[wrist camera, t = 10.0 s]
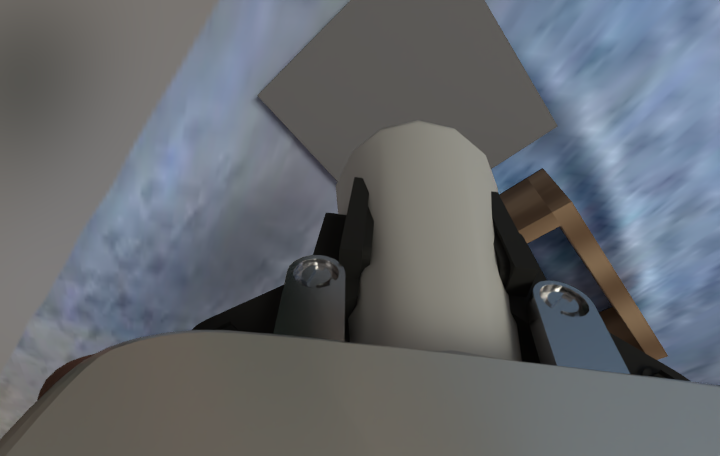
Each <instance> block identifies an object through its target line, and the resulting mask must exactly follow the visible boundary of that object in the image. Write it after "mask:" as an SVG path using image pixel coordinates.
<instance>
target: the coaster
mask: <svg viewBox="0 0 720 456" xmlns="http://www.w3.org/2000/svg"><path fill="white" fill-rule="evenodd" d="M257 96H258V97H259V98H260V99H261V100H262V101H263V102H264V103H265V104H266V105H267V106H268V108H269V109H270V110H271V111H272V112H273V113H274V114H275V115H276V116H277V117H278V118H279V119H280V120H281V121H282V122H283V124H284V125H285V126H286V127H287V128H288V129H289V130H290V131H291V132H292V133H293V134H294V135H295V136H296V137H297V139H298V140H299V141H300V142H301V143H302V144H303V145H304V146H305V147H306V148H307V149H308V150H309V151H310V152H311V154H312V155H313V156H314V157H315V158H316V159H317V160H318V161H319V162H320V163H321V164H322V165H323V166H324V167H325V169H326V170H327V171H328V172H329V173H330V174H331V175H332V176H333V177H334V178H335V179H336V180H337V181H338V180H339V178H340V176H341V174H342V172H343V170H344V168H345V166H346V164H347V161H348V159H349V157H350V155H351V154H352V152H353V151H354V150H355V149H356V148H358V147H359V146H360V145H361V144H363V143H364V142H365V141H366V140H368V139H369V138H370V137H371V136H373V135H374V134H375V133H376V132H378V131H379V130H380V129H382V128H386V127H391V126H395V125H400V124H404V123H408V122H413V121H417V120H419V121H424V122H428V123H433V124H437V125H441V126H446V127H450V128H454V129H456V130H457V131H458V132H459V133H460V134H462V135H463V136H464V137H465V138H466V139H467V140H469V141H470V142H471V143H472V144H473V145H475V146H476V147H477V148H478V149H479V150H480V151H482V152H483V153H484V154H485V155H486V157H487V160H488V163H489V166H490V168H491V169H492V168H493V167H495V166H497V165H498V164H500V163H501V162H503V161H504V160H506V159H507V158H509V157H511V156H512V155H514V154H515V153H517V152H518V151H520V150H521V149H523V148H525V147H526V146H528V145H529V144H531V143H532V142H534V141H535V140H537V139H538V138H540V137H542V136H543V135H545V134H546V133H548V132H549V131H551V130H552V129H554V128H556V127H557V124H556V122H555V121H554V119H553V117H552V116H551V114H550V112H549V110H548V109H547V107H546V105H545V104H544V102H543V100H542V98H541V97H540V95H539V93H538V92H537V90H536V88H535V86H534V85H533V83H532V81H531V79H530V78H529V76H528V74H527V73H526V71H525V69H524V67H523V66H522V64H521V62H520V61H519V59H518V57H517V55H516V54H515V52H514V50H513V49H512V47H511V45H510V43H509V42H508V40H507V38H506V37H505V35H504V33H503V31H502V30H501V28H500V26H499V25H498V23H497V21H496V19H495V18H494V16H493V14H492V13H491V11H490V9H489V7H488V6H487V4H486V2H485V0H351V1H350V2H349V3H348V4H347V5H346V6H345V7H344V8H343V9H342V10H341V11H340V12H339V13H338V14H337V15H336V16H335V17H334V18H333V19H332V20H331V21H330V22H329V23H328V24H327V25H326V26H325V27H324V28H323V29H322V30H321V31H320V32H319V33H318V34H317V35H316V36H315V37H314V38H313V39H312V40H311V41H310V42H309V43H308V44H307V45H306V46H305V47H304V49H303V50H302V51H301V52H300V53H299V54H298V55H297V56H296V57H295V58H294V59H293V60H292V61H291V62H290V63H289V64H288V65H287V66H286V67H285V68H284V69H283V70H282V71H281V72H280V73H279V74H278V75H277V76H276V77H275V78H274V79H273V80H272V81H271V82H270V83H269V84H268V85H267V86H266V87H265V88H264V89H263V90H262V91H261V92H260V93H259V94H258V95H257Z"/></svg>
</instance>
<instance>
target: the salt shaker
mask: <svg viewBox="0 0 720 456" xmlns="http://www.w3.org/2000/svg"><path fill="white" fill-rule="evenodd" d="M354 177H359V178H363V179H364V182H365V184H366V187H367V189H368V191H369V200H368V207H369V210H370V212H371V215H372V217H373V220H374V228H373V240H372V252H371V261H370V265H369V266H368V267H366V268H365V269H364V270H363V272H362V273H361V275H360V280H359V289H358V298H357V305H356V307H355V308H354V310H353V312H352V313H351V315H350V316H349V318H348V323H349V334H350V342H353V343H363V344H372V345H381V346H390V347H399V348H408V349H417V350H426V351H435V352H443V353H452V354H461V355H470V356H479V357H487V358H496V359H505V360H514V361H522V358H521V350H520V343H519V336H518V329H517V324H516V322H515V320H514V318H513V316H512V314H511V312H510V304H509V295H508V294H507V292H506V291H505V287H504V286H503V283H502V281H501V279H500V276H499V270H498V264H497V258H496V253H495V248H494V244H493V243H494V224H493V219H492V205H491V191H493V192H497V193H498V189H497V185H496V182H495V180H494V177H493V174H492V171H491V168H490V166H489V163H488V160H487V157H486V155H485V154H484V153H483V152H482V151H480V150H479V149H478V148H477V147H476V146H475V145H473V144H472V143H471V142H470V141H469V140H467V139H466V138H465V137H464V136H463V135H462V134H460V133H459V132H458V131H457V130H456V129H454V128H450V127H446V126H441V125H437V124H433V123H428V122H424V121H419V120H417V121H413V122H408V123H404V124H400V125H395V126H391V127H386V128H382V129H380V130H379V131H378V132H376V133H375V134H374V135H373V136H371V137H370V138H369V139H368V140H366V141H365V142H364V143H363V144H361V145H360V146H359V147H358V148H356V149H355V150H354V151H353V152H352V154H351V155H350V157H349V159H348V161H347V164H346V166H345V168H344V170H343V172H342V174H341V176H340V178H339V180H338V182H337V184H336V193H337V205H338V214H343V215H347V210H348V206H349V201H350V196H351V191H352V186H353V181H354Z"/></svg>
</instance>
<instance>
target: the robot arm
mask: <svg viewBox="0 0 720 456" xmlns="http://www.w3.org/2000/svg"><path fill="white" fill-rule="evenodd" d="M368 200H369V191H368V189H367V187H366V184H365V182H364V179H363V178H359V177H354V181H353V186H352V191H351V196H350V201H349V206H348V210H347V215H343V214H334V213H326V214H325V217H324V221H323V224H322V227H321V231H320V234H319V237H318V240H317V244H316V247H315V250H314V254H313V255H310V256H306V257H302V258H300V259H298V260H296V261H294V262H293V263H292V264H291V265H290V266H289V268H288V270H287V274H286V279H285V283H284V285H282V286H280V287H278V288H276V289H274V290H271V291H269V292H267V293H265V294H262V295H260V296H258V297H256V298H253V299H251V300H249V301H247V302H245V303H242V304H240V305H238V306H236V307H233V308H231V309H229V310H227V311H225V312H222V313H220V314H218V315H216V316H213V317H211V318H209V319H207V320H205V321H203V322H201V323H200V324H198V325H197V326H196V327H195V328H193V329H192V330H189V331H177V332H167V333H161V334H156V335H151V336H145V337H140V338H136V339H133V340H129V341H125V342H122V343H119V344H116V345H113V346H111V347H108V348H106V349H104V350H102V351H100V352H98V353H96V354H92V355H88V356H84V357H81V358H78V359H75V360H73V361H70V362H68V363H66V364H65V365H63V366H62V367H60V368H58V369H57V370H56V371H55V372H54V373H52V374H51V375H50V376H49V377H48V378H47V379H46V381H45V383H44V384H43V386H42V388H41V390H40V393H39V396H38V399H37V402H36V403H35V404H34V405H33V406H32V407H30V408H29V410H28V411H27V412H26V413H25V414H24V415H23V416H22V417H21V418H20V419H19V420H18V421H17V422H16V423H15V424H14V425H13V426H12V427H11V428H10V429H9V431H8V432H7V433H6V434H5V435H4V436H3V437H2V438H1V439H0V456H720V386H719V385H713V384H706V383H699V382H692V381H690V380H688V379H687V378H685V377H684V376H682V375H681V374H679V373H678V372H676V371H674V370H673V369H671V368H669V367H668V366H666V365H664V364H663V363H661V362H659V361H657V360H656V359H654V358H652V357H651V356H649V355H647V354H646V353H644V352H642V351H640V350H639V349H637V348H635V347H634V346H632V345H630V344H629V343H627V342H625V341H624V340H622V339H620V338H618V337H617V336H615V335H613V334H612V333H610V332H608V330H607V328H606V326H605V324H604V322H603V320H602V318H601V316H600V315H599V313H598V311H597V309H596V307H595V305H594V304H593V302H592V301H591V299H590V298H589V297H587V296H586V295H585V294H584V293H583V292H581V291H580V290H578V289H576V288H575V287H572V286H570V285H568V284H565V283H562V282H558V281H549V280H546V278H545V276H544V274H543V272H542V271H541V269H540V267H539V265H538V263H537V261H536V259H535V258H534V256H533V254H532V252H531V250H530V248H529V246H528V245H527V243H526V241H525V239H524V237H523V236H522V235H521V234H520V233H519V232H518V230H517V228H516V226H515V224H514V222H513V220H512V218H511V216H510V215H509V213H508V211H507V209H506V207H505V205H504V203H503V201H502V200H501V198H500V196H499V194H498V193H497V192H493V191H491V205H492V219H493V224H494V243H493V244H494V248H495V253H496V258H497V264H498V270H499V276H500V279H501V281H502V283H503V286H504V287H505V291H506V292H507V294H508V295H509V304H510V312H511V314H512V316H513V318H514V320H515V322H516V324H517V329H518V336H519V343H520V350H521V358H522V361H514V360H505V359H496V358H487V357H479V356H470V355H461V354H452V353H443V352H435V351H426V350H417V349H408V348H399V347H390V346H381V345H372V344H363V343H353V342H350V334H349V323H348V318H349V316H350V315H351V313H352V312H353V310H354V308H355V307H356V305H357V298H358V289H359V280H360V275H361V273H362V272H363V270H364V269H365V268H366V267H368V266H369V265H370V261H371V252H372V240H373V228H374V220H373V217H372V215H371V212H370V210H369V207H368Z"/></svg>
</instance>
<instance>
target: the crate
mask: <svg viewBox="0 0 720 456" xmlns="http://www.w3.org/2000/svg"><path fill="white" fill-rule="evenodd" d="M499 196H500V198H501V200H502V201H503V203H504V205H505V207H506V209H507V211H508V213H509V215H510V216H511V218H512V220H513V222H514V224H515V226H516V228H517V230H518V232H519V233H520V234H521V235H522V236H523V237H524V239H525V241H526V243H529V242H531V241H533V240H535V239H537V238H538V237H540V236H542V235H544V234H546V233H548V232H550V231H552V230H554V229H555V228H557V227H560V228H561V230H562V231H563V233H564V234H565V236H566V237H567V239H568V240H569V242H570V243H571V245H572V246H573V248H574V249H575V251H576V252H577V254H578V255H579V257H580V258H581V260H582V261H583V263H584V264H585V266H586V267H587V269H588V270H589V272H590V273H591V275H592V276H593V278H594V279H595V281H596V282H597V284H598V285H599V287H600V288H601V290H602V291H603V293H604V294H605V296H606V297H607V299H608V300H609V302H610V303H611V305H612V306H613V307H611V308H609V309H606V310H604V311H602V312H599V315H600V316H601V318H602V320H603V322H604V324H605V326H606V328H607V330H608V332H610V333H612V334H613V335H615V336H617V337H618V338H620V339H622V340H624V341H625V342H627V343H629V344H630V345H632V346H634V347H635V348H637V349H639V350H640V351H642V352H644V353H646V354H647V355H649V356H651V357H652V358H654V359H656V360H658V359H661V358H664V357H667V356H668V355H667V353H666V352H665V350H664V349H663V347H662V345H661V344H660V342H659V341H658V339H657V337H656V336H655V334H654V333H653V331H652V329H651V328H650V326H649V325H648V323H647V321H646V320H645V318H644V317H643V315H642V313H641V312H640V310H639V309H638V307H637V305H636V304H635V302H634V301H633V299H632V297H631V296H630V294H629V293H628V291H627V289H626V288H625V286H624V285H623V283H622V281H621V280H620V278H619V277H618V275H617V273H616V272H615V270H614V269H613V267H612V265H611V264H610V262H609V261H608V259H607V257H606V256H605V254H604V253H603V251H602V249H601V248H600V246H599V245H598V243H597V241H596V240H595V238H594V237H593V235H592V233H591V232H590V230H589V229H588V227H587V225H586V224H585V222H584V221H583V219H582V217H581V216H580V214H579V213H578V211H577V209H576V208H575V206H574V205H573V203H572V202H571V200H570V199H569V198H568V197H567V196H566V195H565V193H564V192H563V191H562V190H561V189H560V188H559V186H558V185H557V184H556V183H555V182H554V181H553V179H552V178H551V177H550V176H549V175H548V174H547V173H546V171H545V170H544V169H541V170H539V171H538V172H536V173H534V174H533V175H531V176H529V177H528V178H526V179H524V180H523V181H521V182H520V183H518V184H516V185H515V186H513V187H511V188H510V189H508V190H506V191H505V192H503V193H501V194H500V195H499Z"/></svg>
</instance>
